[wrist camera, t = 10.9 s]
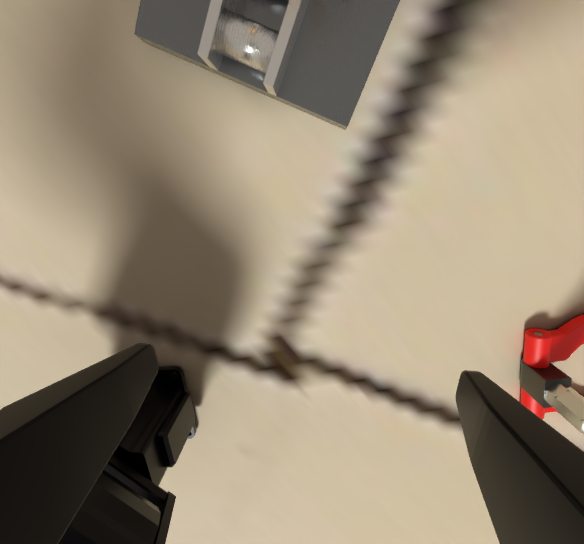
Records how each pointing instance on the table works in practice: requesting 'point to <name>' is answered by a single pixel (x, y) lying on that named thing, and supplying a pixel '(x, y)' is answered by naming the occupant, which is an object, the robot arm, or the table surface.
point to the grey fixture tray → (277, 45)
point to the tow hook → (552, 372)
